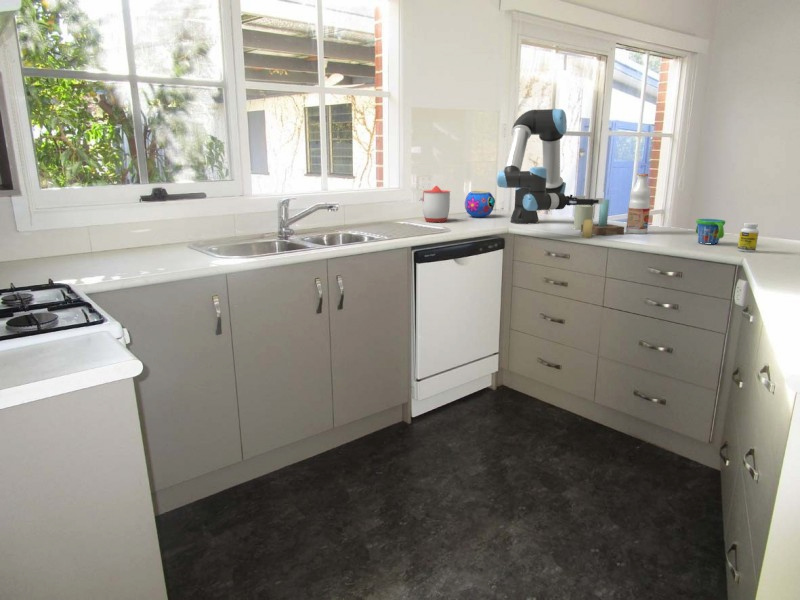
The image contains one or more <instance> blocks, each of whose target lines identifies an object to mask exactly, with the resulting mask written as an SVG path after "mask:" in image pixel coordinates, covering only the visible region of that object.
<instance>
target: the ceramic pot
mask: <svg viewBox="0 0 800 600" xmlns="http://www.w3.org/2000/svg"><path fill="white" fill-rule="evenodd" d="M495 203H496V198H494V196H493V195H492V193H491V192H490V191H486V190H485V191H484V190H482V191H479V190H473V191H470V192H468V193H467V195H466V197H465V200H464V209H465V211H466V213H467V214H468V215H470V216H471V217H474V218H486V217H487V216H489V215H491V213H492V212H493V210H494V208H495Z"/></svg>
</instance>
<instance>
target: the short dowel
mask: <svg viewBox="0 0 800 600" xmlns="http://www.w3.org/2000/svg"><path fill="white" fill-rule="evenodd" d="M593 222H594V221H593V219H592V220H590V219H585V220H584V223H583V232H582V234H581V235H582V236H581V237H582V238H584V239H591V238H592V236H593V234H592V224H594V223H593Z"/></svg>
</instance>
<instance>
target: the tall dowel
mask: <svg viewBox="0 0 800 600" xmlns="http://www.w3.org/2000/svg"><path fill="white" fill-rule="evenodd" d="M609 206H610V199H606V198H604V201H603V204H599V210H598V211H599V212H598V223H597V224H598V226H600V227H607V224H608V217H609V209H610V207H609Z"/></svg>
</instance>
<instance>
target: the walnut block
mask: <svg viewBox="0 0 800 600" xmlns="http://www.w3.org/2000/svg"><path fill="white" fill-rule="evenodd" d="M580 232H581V233H583V225H581V229H580ZM624 233H625V226H621V225H616V224H610V223H607V227H600V226H598V223H593V224H592V235H593V234H594V235H593V236H598V235H603V236H614V235H613V234H620V235H625V234H624Z"/></svg>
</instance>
